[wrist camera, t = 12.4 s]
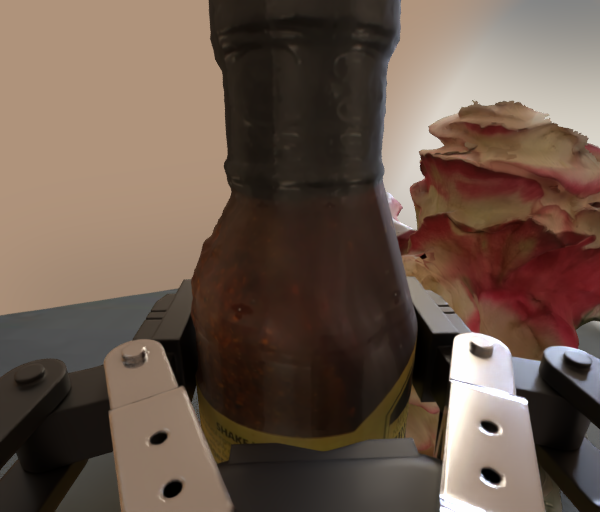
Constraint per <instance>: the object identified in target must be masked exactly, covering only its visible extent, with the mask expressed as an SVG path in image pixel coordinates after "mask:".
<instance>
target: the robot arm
mask: <svg viewBox="0 0 600 512" xmlns="http://www.w3.org/2000/svg"><path fill="white" fill-rule="evenodd" d="M406 277H407V282H408V286H409V290H410V294H411V298H412V302H413V306H414V310H415V314H416V318H417V326H418V331H417V341H416V349H415V364H414V369H413V374H412V385H413V387H414V389H415V391H416V393H417V395H418V397H419V399H420V401H421V402H436V403H437V405H438V407H439V409H440V411H439V416H438V422H437V430H436V437H435V445H434V453H433V457H432V456H428V455H425V454H420V453H418V450H417V448H416V445H415V443H414V440H413V438H392V439H368V440H365V441H361V442H358V443H354V444H350V445H347V446H343V447H340V448H336V449H333V450H329V451H318V450H312V449H307V448H302V447H297V446H291V445H286V444H281V443H254V444H231V449H230V456H229V460H227V461H224V462H221V463H218V464H216V462H215V459H214V457H213V454H212V452H211V450H210V447H209V445H208V442H207V440H206V438H205V435H204V433H203V430H202V428H201V425H200V423H199V421H198V418H197V416H196V413H195V411H194V409H193V406H192V404H191V402H192V398H193V395H194V392H195V388H196V377H195V375H196V372H197V367H198V363H199V362H198V361H199V359H198V352H197V348H196V331H195V327H194V324H193V320H192V317H191V305H192V300H193V296H192V286H191V280H192V279H188V280H183V282H182V284H181V286H180V288H179V289H178V291H177V293H176V294H167V295H165V296H164V297H163V298H161V299H160V300H158V301H157V302H156V303H155V305H154V306H153V308H152V310H151V312H150V313H149V314H148V316H147V317H146V320H145V321H144V322H143V324H142V325H141V327H140V329H139V330H138V332H137V333H136V335H135V336H134V338H133V340H132V341H129V342H126V343H124V344H121V345H119V346H117V347H116V348H114V349H113V350H112V351H110V352H109V353H108V354H107V356H106V357H105V360H104V364H103V365H101V366H98V367H94V368H90V369H85V370H81V371H76V372H72V373H68V372H67V368H66V365H65V363H64V362H62V361H60V360H57V359H40V360H35V361H32V362H28V363H25V364H23V365H20V366H18V367H16V368H14V369H12V370H11V371H9V372H7V373H6V374H5V375H3V376H2V377H1V378H0V470H1V468H2V467H3V466H4V465H5V464H6V463H7V462H8V460H9V459H10V458H11V457H12V456H13V455H14V454H15V453H16V454H17V456H18V460H17V461H16V462H15V463H14V464H13V466H12V467H11V468H10V469H9V470H8V471H7V472H6V474H5V475H4V476H3V477H2V478H1V479H0V512H55V510H56V509H57V507H58V506H59V504H60V503H61V501H62V500H63V498H64V497H65V495H66V494H67V492H68V491H69V489H70V488H71V486H72V485H73V483H74V482H75V480H76V479H77V477H78V476H79V474H80V473H81V471H82V470H83V468H84V467H85V465H86V463H87V461H88V459H89V458H93V457H96V456H99V455H102V454H106V453H109V452H112V451H114V459H115V467H116V474H117V482H118V489H119V497H120V504H121V512H546V511H545V505H544V499H543V493H542V487H541V481H540V475H539V469H538V463H539V465H540V466H541V467H542V468H543V469H544V470H545V472H546V473H547V474H548V475H549V476H550V477H551V479H552V480H553V481H554V482H555V483H556V484H557V486H558V487H559V488H560V489H561V490H562V491H563V493H564V494H565V495H566V496H567V497H568V498H569V500H570V501H571V502H572V503H573V504H574V506H575V507H576V508H577V509H578V510H579V511H580V512H600V451H599V450H598V449H597V448H596V447H595V446H594V445H593V444H592V443H591V442H590V441H589V440H587V439H586V438H585V434H586V432H587V429H588V427H589V425H590V422H592V423H593V424H594V425H596V426H597V427H598V428H599V429H600V360H599V359H598V358H596V357H594V356H592V355H591V354H588V353H586V352H584V351H581V350H578V349H575V348H571V347H565V346H551V347H548V348H546V349H545V350H544V353H543V356H542V359H541V361H536V360H530V359H524V358H518V357H513V356H511V352H510V350H509V349H508V347H507V346H506V345H505V344H503V343H502V342H500V341H499V340H497V339H495V338H493V337H491V336H488V335H485V334H481V333H474V332H472V331H471V330H470V329H469V328H468V327H467V325H466V324H465V323H464V322H463V321H462V320H461V318H460V317H459V316H458V315H457V314H455V311H454V310H453V309H452V308H451V307H449V304H448V303H447V302H446V301H445V300H444V299H443V297H441V296H440V295H438V294H436V293H435V292H433V291H431V290H425V289H424V288H423V286H422V285H421V284H420V283H419V281H418V280H417V279H416V278H415V277H414V276H406ZM537 462H538V463H537Z"/></svg>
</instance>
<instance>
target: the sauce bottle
mask: <svg viewBox="0 0 600 512" xmlns="http://www.w3.org/2000/svg"><path fill="white" fill-rule="evenodd" d="M400 3H401V0H209V16H210V30H211V36H210V40H211V43H212V46H213V50H214V55H215V60H216V62H217V64H218V65H219V67H220V69H221V70H222V74H223V88H224V102H225V123H226V138H227V147H228V156H227V159H226V161H225V163H224V169H225V172H226V175H227V181H228V184H229V186H230V187H231V191H232V193H231V196H230V199H229V201H228V203H227V205H226V207H225V208H224V210H223V213H222V216H221V217H220V219H219V220H218V223H217V225H216V226H215V228H214V230H213V233H212V235H211V236H210V237H209V238H208V239H206V240H205V242H204V244H203V247H202V251H201V255H200V258H199V261H198V263H197V266H196V269H195V270H194V275H193V277H192V280H191V286H192V296H193V300H192V305H191V317H192V320H193V324H194V327H195V331H196V348H197V352H198V359H199V361H198V362H199V363H198V367H197V372H196V375H195V377H196V385H197V394H198V403H199V411H200V420H201V428H202V430H203V433H204V435H205V438H206V440H207V442H208V445H209V447H210V450H211V452H212V454H213V457H214V459H215V462H216V464H218V463H221V462H224V461H227V460H229V456H230V449H231V444H254V443H281V444H286V445H291V446H297V447H302V448H307V449H312V450H318V451H329V450H333V449H336V448H340V447H343V446H347V445H350V444H354V443H358V442H361V441H365V440H368V439H392V438H405V437H406V435H405V433H406V425H407V417H408V409H409V399H410V394H411V387H412V374H413V369H414V364H415V349H416V341H417V331H418V326H417V318H416V314H415V310H414V306H413V302H412V298H411V294H410V290H409V286H408V282H407V277H406V273H405V269H404V265H403V261H402V257H401V252H400V248H399V244H398V240H397V236H396V231H395V227H394V223H393V219H392V215H391V211H390V207H389V203H388V199H387V195H386V192H385V188H384V184H383V180H382V179H383V175H384V166H383V163H382V159H381V157H382V156H381V150H382V139H383V132H384V117H385V113H386V108H385V103H386V86H387V81H386V75H387V68H388V62H389V60H390V57H391V56H392V54H393V52H394V50H395V48H396V46H397V44H398V42H399V40H400V14H401V7H400Z"/></svg>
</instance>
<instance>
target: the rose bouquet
mask: <svg viewBox="0 0 600 512" xmlns="http://www.w3.org/2000/svg"><path fill="white" fill-rule="evenodd" d="M472 101H473V100H472ZM473 102H474V101H473ZM548 115H549V114H543V113H540V112H536V111H534V110H533V109H530V108H528V107H526V106H525V105H524V106H523V105H522V104H521V103H519V102H516V103H514V101H509V102H506V101H503V102H498V103H496V104H495V105H489V106H482V105H480V104H478V102H477V101H476V102H474V105H470V106H468V107H462V108H461V109H460V111H459V113H457V114H454V115H451V116H448V117H445V118H442V119H440V120H438V121H436V122H435V123H433V124H432V125H430V126H429V132H430V133H431V134H432V135H434V136H435V137H437V138H438V139H440V140H441V142H442V143H443V144H444V146H443V147H441V148H439V149H433V150H421V151H419V153H420V156H421V160H420V164H421V165H420V170H421V172H422V174H423V175H424V176H425V179H423V180H422V181H419V182H417V183H414V184H413V185H412V186H411V187H410V193H411V196H412V200H413V202H414V206H415V211H416V219H417V230H414V229H411V227H409V226H406V225H404V224H402V223H400V222H399V221H398V219H397V216H398V215H399V213H400V211H401V209H402V208H403V207H402V206H401V204H400V203H399V202H398V201H397V200H395V199H394V198H393V197H392V195H391V194H390V193H389V192H386V195H387V199H388V203H389V207H390V211H391V215H392V219H393V223H394V227H395V231H396V236H397V240H398V244H399V248H400V252H401V257H402V261H403V265H404V269H405V273H406V276H414V277H415V278H416V279H417V280H418V281H419V283H420V284H421V285H422V286H423V288H424V289H425V290H431V291H433V292H435V293H436V294H438V295H440V296H441V297H443V299H444V300H445V301H446V302H447V303H448V304H449V307H451V308H452V309H453V310H454V311H455V314H457V315H458V316H459V317H460V318H461V320H462V321H463V322H464V323H465V324H466V325H467V327H468V328H469V329H470V330H471V331H472V332H474V333H481V334H485V335H488V336H491V337H493V338H495V339H497V340H499V341H500V342H502V343H503V344H505V345H506V346H507V347H508V349H509V350H510V352H511V356H513V357H518V358H524V359H530V360H536V361H541V359H542V356H543V353H544V350H545V349H546V348H548V347H551V346H565V347H571V348H575V349H578V346H579V339H578V336H577V333H576V329H578V328H579V327H580V326H582V325H584V324H586V323H588V322H590V321H600V148H599V147H598V146H595V145H593V144H588V143H587V140H588V138H587V136H584V135H580V134H581V133H579V134H578V132H577V131H575V132H573V129H569V128H563V127H559V126H558V124H554V123H551V121H550V118H549V119H545V120H544V118H545V117H546V116H548ZM439 411H440V409H439V407H438V405H437V403H436V402H421V401H420V399H419V397H418V395H417V393H416V391H415V389H414V387H413V385H412V387H411V394H410V399H409V409H408V417H407V425H406V433H405V435H406V437H405V438H413V440H414V443H415V445H416V448H417V450H418V453H420V454H425V455H428V456H432V457H433V453H434V445H435V437H436V430H437V422H438V416H439ZM585 438H586V439H587V440H588V437H587V433H586V434H585ZM537 463H538V462H537ZM538 469H539V475H540V481H541V487H542V493H543V499H544V505H545V511H546V512H562V504H561V501H560V500H561V496H560V494H559V491H560V489H559V487H558V486H557V484H556V483H555V482H554V481H553V480H552V479H551V477H550V476H549V475H548V474H547V473H546V472H545V470H544V469H543V468H542V467H541V466H540V465H539V463H538Z"/></svg>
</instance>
